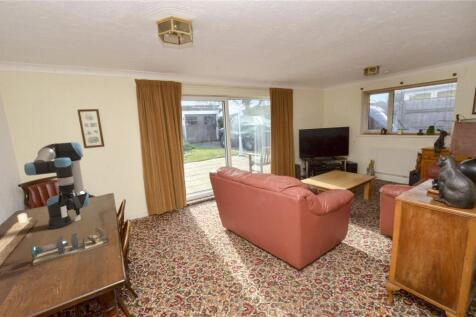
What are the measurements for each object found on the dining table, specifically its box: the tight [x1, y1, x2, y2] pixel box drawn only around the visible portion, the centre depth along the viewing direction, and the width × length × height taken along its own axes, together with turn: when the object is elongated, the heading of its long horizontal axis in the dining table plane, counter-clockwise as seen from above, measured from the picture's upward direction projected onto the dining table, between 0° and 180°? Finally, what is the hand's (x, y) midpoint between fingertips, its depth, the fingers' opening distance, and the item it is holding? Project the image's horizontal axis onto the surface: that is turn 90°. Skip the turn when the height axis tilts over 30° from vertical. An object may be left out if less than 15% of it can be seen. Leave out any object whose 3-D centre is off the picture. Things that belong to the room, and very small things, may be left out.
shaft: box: [30, 239, 69, 259], centre depth 127 cm, size 16×6×6 cm, turn 124°
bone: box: [87, 227, 104, 243], centre depth 141 cm, size 9×6×10 cm
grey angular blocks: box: [56, 231, 110, 255], centre depth 136 cm, size 10×25×9 cm, turn 124°
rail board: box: [32, 235, 110, 266], centre depth 134 cm, size 10×36×2 cm, turn 124°
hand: (71, 218), depth 132 cm, fingers open, 13 cm apart
